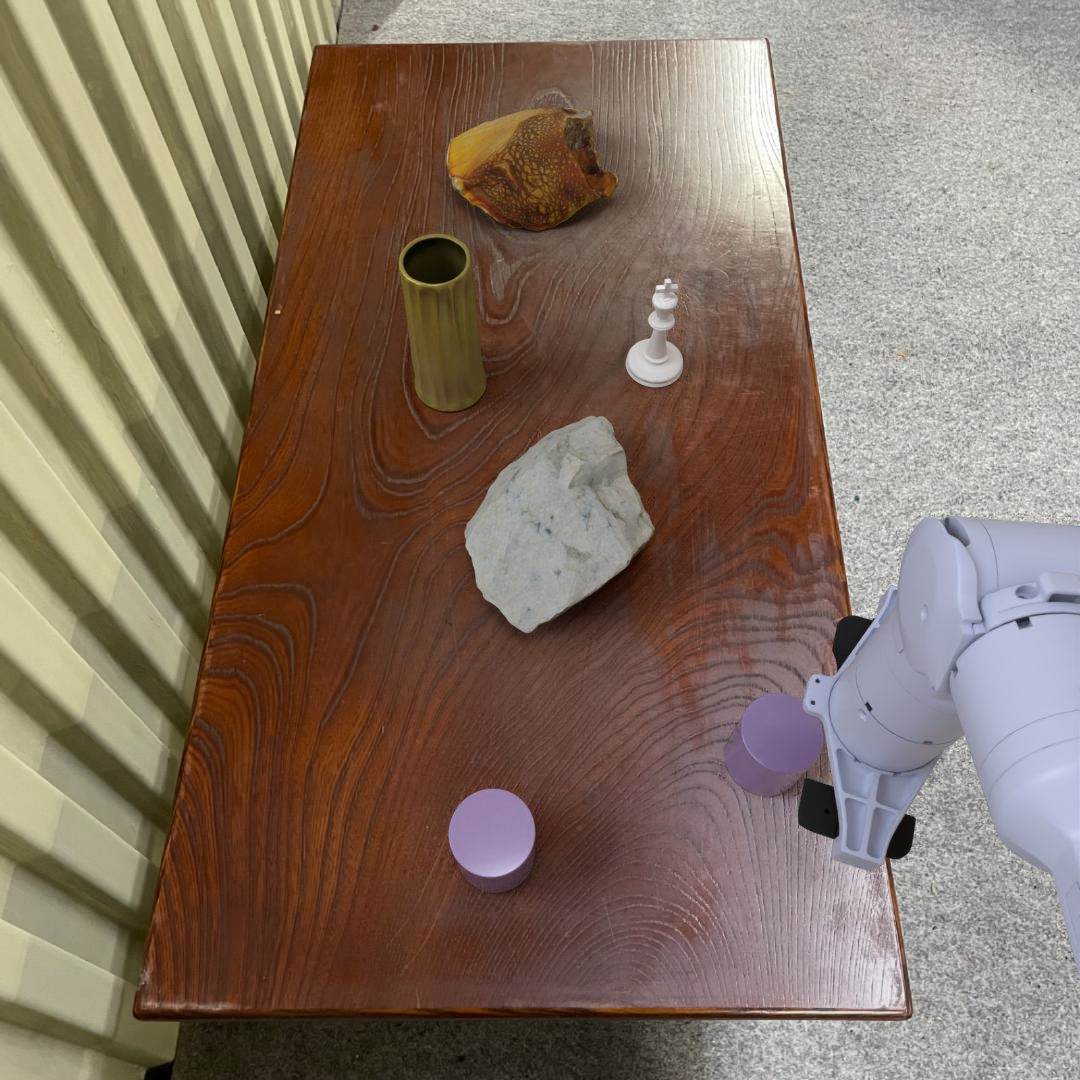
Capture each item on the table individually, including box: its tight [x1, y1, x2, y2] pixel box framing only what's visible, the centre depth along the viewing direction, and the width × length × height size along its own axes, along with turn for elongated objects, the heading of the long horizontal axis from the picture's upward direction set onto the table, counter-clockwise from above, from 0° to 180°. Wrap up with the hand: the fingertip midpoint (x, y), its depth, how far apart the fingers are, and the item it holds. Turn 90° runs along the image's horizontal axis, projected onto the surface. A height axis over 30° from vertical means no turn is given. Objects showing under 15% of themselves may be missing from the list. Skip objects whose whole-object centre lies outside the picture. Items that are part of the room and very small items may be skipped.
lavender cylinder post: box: [448, 788, 537, 894], centre depth 59 cm, size 5×5×6 cm
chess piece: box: [625, 278, 684, 388], centre depth 76 cm, size 5×5×10 cm
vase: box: [398, 233, 488, 413], centre depth 74 cm, size 6×6×14 cm
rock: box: [464, 415, 656, 635], centre depth 69 cm, size 15×16×8 cm
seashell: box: [445, 104, 620, 232], centre depth 89 cm, size 17×8×15 cm
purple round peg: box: [724, 692, 825, 797], centre depth 62 cm, size 5×5×6 cm
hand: (836, 765), depth 55 cm, fingers open, 7 cm apart
